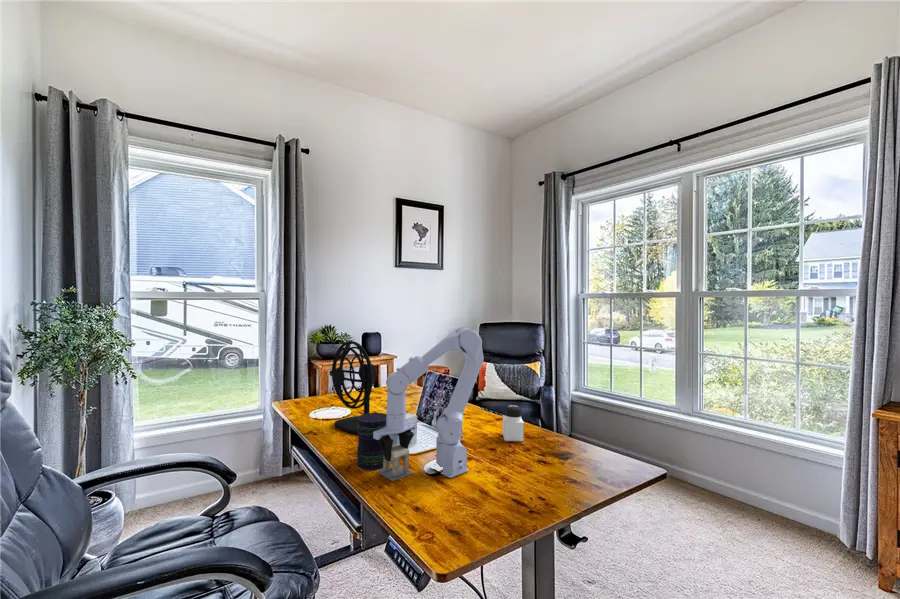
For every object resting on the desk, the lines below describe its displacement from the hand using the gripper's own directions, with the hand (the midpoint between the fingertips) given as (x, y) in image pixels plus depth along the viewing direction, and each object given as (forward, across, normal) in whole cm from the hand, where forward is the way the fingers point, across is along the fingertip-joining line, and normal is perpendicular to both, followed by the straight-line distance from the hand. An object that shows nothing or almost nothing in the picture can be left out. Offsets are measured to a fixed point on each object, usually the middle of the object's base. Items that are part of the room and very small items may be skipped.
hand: (395, 457), depth 123 cm
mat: (+5, 0, 0) cm, 5 cm away
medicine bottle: (+5, -52, +3) cm, 52 cm away
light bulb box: (+5, -14, -17) cm, 23 cm away
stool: (+4, 0, 0) cm, 4 cm away
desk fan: (+5, -13, -46) cm, 48 cm away
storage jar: (+5, +2, -10) cm, 11 cm away
